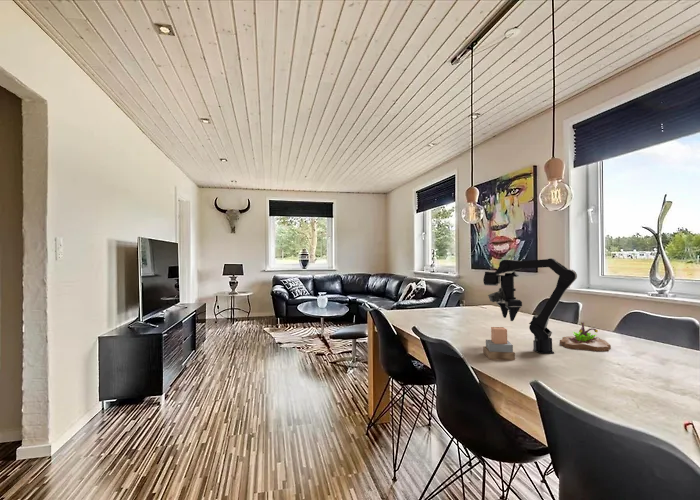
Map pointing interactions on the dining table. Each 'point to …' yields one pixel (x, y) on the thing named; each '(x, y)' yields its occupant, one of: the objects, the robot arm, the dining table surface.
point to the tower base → (498, 355)
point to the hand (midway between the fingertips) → (508, 319)
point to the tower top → (499, 347)
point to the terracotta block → (499, 335)
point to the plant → (585, 341)
